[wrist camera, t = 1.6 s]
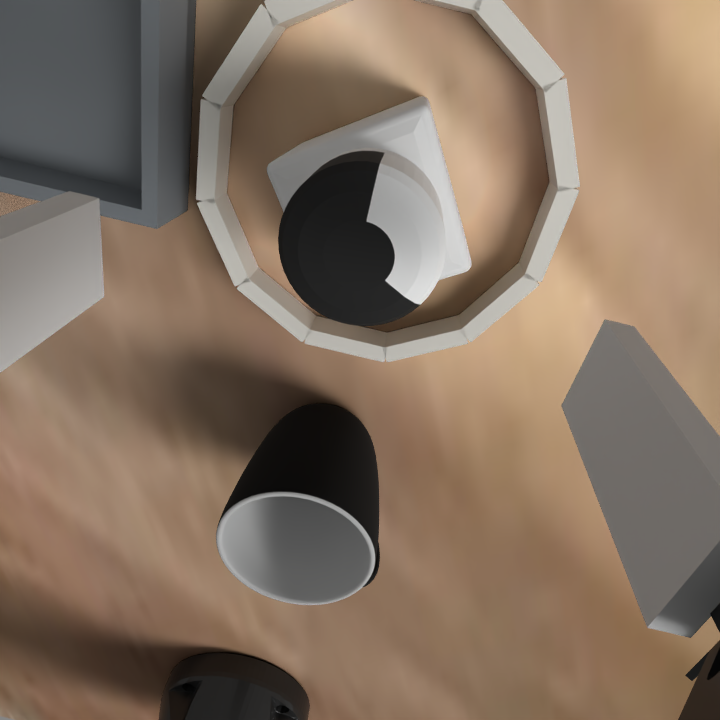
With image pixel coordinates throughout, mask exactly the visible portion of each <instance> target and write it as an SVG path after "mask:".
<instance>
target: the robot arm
mask: <svg viewBox="0 0 720 720" xmlns="http://www.w3.org/2000/svg"><path fill="white" fill-rule="evenodd" d="M103 297H104V282H103V263H102V243H101V223H100V203H99V198H96V197H92V196H88V195H84V194H80V193H75V192H71V191H68V192H66V193H63V194H60V195H57V196H55V197H52V198H49V199H46V200H44V201H41V202H38V203H35V204H33V205H30V206H27V207H25V208H22V209H19V210H16V211H14V212H11V213H8V214H5V215H3V216H0V372H2V371H3V370H5V369H6V368H7V367H9V366H10V365H11V364H13V363H14V362H16V361H17V360H18V359H20V358H21V357H22V356H24V355H25V354H26V353H28V352H29V351H31V350H32V349H33V348H35V347H36V346H37V345H39V344H40V343H42V342H43V341H44V340H46V339H47V338H48V337H50V336H51V335H52V334H54V333H55V332H57V331H58V330H59V329H61V328H62V327H63V326H65V325H66V324H68V323H69V322H70V321H72V320H73V319H74V318H76V317H77V316H78V315H80V314H81V313H83V312H84V311H85V310H87V309H88V308H89V307H91V306H92V305H94V304H95V303H96V302H98V301H99V300H100V299H102V298H103ZM562 408H563V411H564V414H565V416H566V419H567V421H568V424H569V427H570V429H571V432H572V434H573V437H574V439H575V442H576V445H577V447H578V450H579V452H580V455H581V458H582V460H583V463H584V465H585V468H586V470H587V473H588V476H589V478H590V481H591V483H592V486H593V489H594V491H595V494H596V496H597V499H598V501H599V504H600V507H601V509H602V512H603V514H604V517H605V519H606V522H607V525H608V527H609V530H610V532H611V535H612V538H613V540H614V543H615V545H616V548H617V550H618V553H619V556H620V558H621V561H622V563H623V566H624V569H625V571H626V574H627V576H628V579H629V581H630V584H631V587H632V589H633V592H634V594H635V597H636V600H637V602H638V605H639V607H640V610H641V612H642V615H643V618H644V620H645V623H646V625H647V628H651V629H656V630H660V631H664V632H668V633H673V634H677V635H681V636H685V637H690V638H691V637H692V636H693V635H694V634H695V633H696V632H697V631H698V629H699V628H700V627H701V626H702V625H703V624H704V623H705V622H706V621H707V620H708V619H709V618H710V617H711V616H712V618H713V620H714V622H715V624H716V626H717V628H718V630H719V632H720V436H719V435H718V434H717V433H716V431H715V430H714V429H713V427H712V426H711V425H710V424H709V422H708V421H707V420H706V418H705V417H704V416H703V415H702V413H701V412H700V411H699V409H698V408H697V407H696V406H695V404H694V403H693V402H692V400H691V399H690V398H689V396H688V395H687V394H686V393H685V391H684V390H683V389H682V387H681V386H680V385H679V384H678V382H677V381H676V380H675V378H674V377H673V376H672V375H671V373H670V372H669V371H668V369H667V368H666V367H665V366H664V364H663V363H662V362H661V360H660V359H659V358H658V357H657V355H656V354H655V353H654V351H653V350H652V349H651V348H650V346H649V345H648V344H647V342H646V341H645V340H644V338H643V337H642V336H641V335H640V333H639V332H638V331H637V329H636V328H635V327H634V326H630V325H626V324H622V323H618V322H614V321H609V320H604V322H603V324H602V326H601V328H600V330H599V332H598V334H597V336H596V338H595V340H594V342H593V344H592V346H591V348H590V350H589V352H588V354H587V356H586V358H585V360H584V362H583V364H582V366H581V368H580V370H579V372H578V374H577V376H576V378H575V380H574V382H573V384H572V386H571V388H570V390H569V392H568V394H567V396H566V398H565V400H564V402H563V404H562ZM685 676H687V677H688V678H689V679H690V680H692V681H693V680H694V679H695V678H696V677H697V676H698V677H697V680H696V682H695V684H694V686H693V688H692V691H691V693H690V695H689V697H688V699H687V702H686V704H685V706H684V708H683V710H682V713H681V715H680V717H679V719H678V720H720V641H719V642H718V643H717V644H716V645H715V646H714V647H713V648H712V649H711V650H710V651H709V652H708V653H707V654H706V655H705V656H704V657H703V658H702V659H701V660H700V661H699V662H698V663H697V664H696V665H695V666H694V667H693V668H692V669H691V670H690V671H689V672H688V673H687V674H686V675H685ZM309 708H310V704H309V699H308V697H307V694H306V693H305V691H304V690H303V688H302V687H301V686H300V685H299V684H298V682H296V681H295V680H294V679H293V678H292V677H291V676H289V675H288V674H286V673H285V672H283V671H282V670H280V669H278V668H276V667H274V666H272V665H270V664H268V663H265V662H263V661H260V660H257V659H254V658H250V657H246V656H242V655H236V654H227V653H209V654H201V655H197V656H193V657H190V658H188V659H185V660H183V661H182V662H180V663H179V664H178V665H176V666H175V668H174V669H173V670H172V672H171V674H170V677H169V679H168V681H167V684H166V686H165V689H164V691H163V694H162V698H161V704H160V713H159V720H308V714H309Z"/></svg>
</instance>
